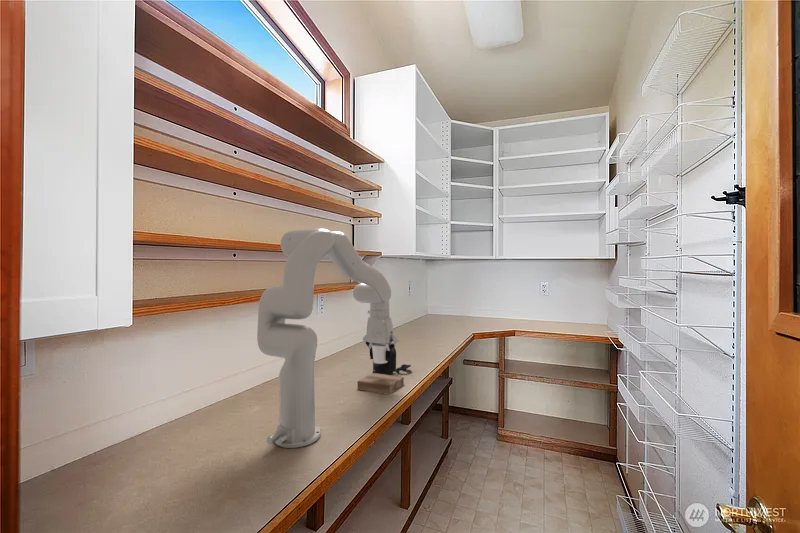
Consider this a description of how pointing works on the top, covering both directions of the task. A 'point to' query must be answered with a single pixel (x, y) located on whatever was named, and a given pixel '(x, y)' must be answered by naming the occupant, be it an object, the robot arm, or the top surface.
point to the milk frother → (389, 365)
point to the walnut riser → (380, 383)
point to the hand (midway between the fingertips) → (380, 358)
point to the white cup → (379, 353)
